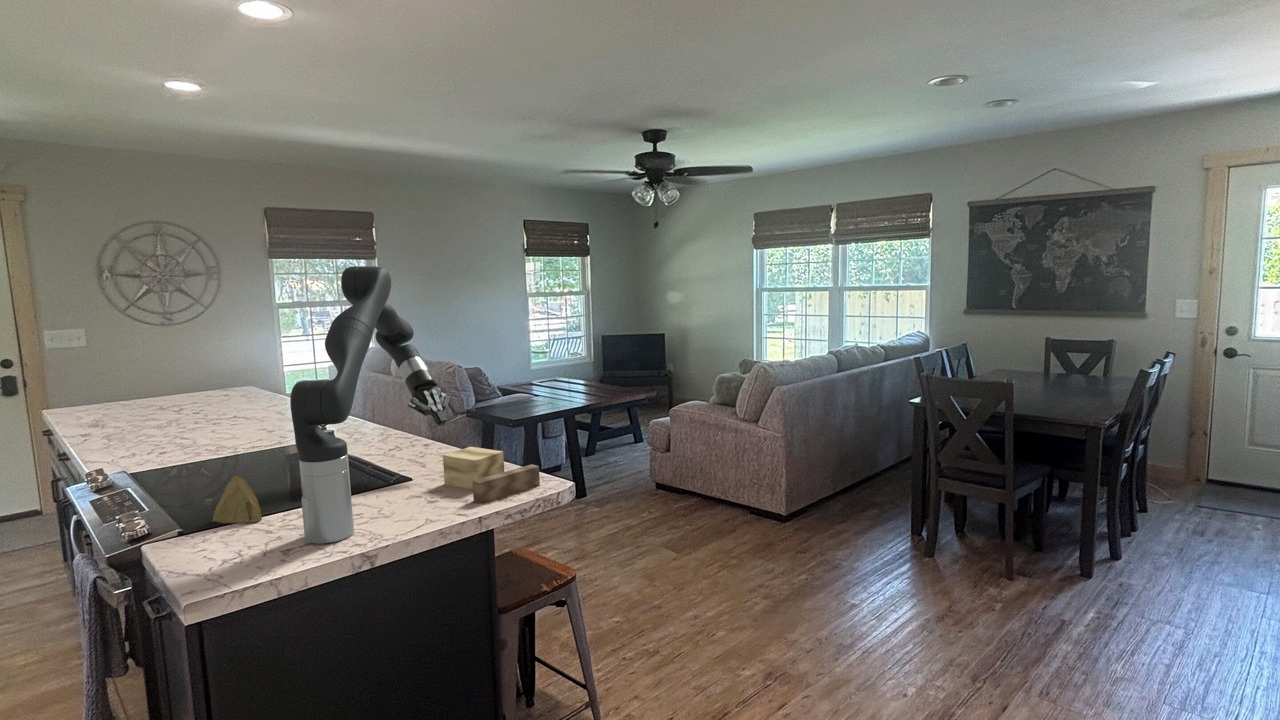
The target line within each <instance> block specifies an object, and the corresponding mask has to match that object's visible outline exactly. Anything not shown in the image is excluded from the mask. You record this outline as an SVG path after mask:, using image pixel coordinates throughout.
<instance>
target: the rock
mask: <svg viewBox="0 0 1280 720" xmlns="http://www.w3.org/2000/svg"><path fill="white" fill-rule="evenodd" d="M262 516H263V515H262V509H261V506H260V502H259V500H258V498H257V496H256V494H255V492H254V489H252V488H251V487H250V485H249V483H248V482H247V481H246V479H245V478H243V477H241V476H238V475H233V476H232V477H231V479H230V481H228V483H227V485H226V486H225V488H224V490H223V493H222V495H221V496H220V499H219V502H218V503H217V505H216V506H215V509H214V512H213V518H212V520H211V522H212V523H214V522H215V523H216V522H217V523H219V524H243V523H250V524H251V523H256V522H260V521H262V519H263V517H262Z"/></svg>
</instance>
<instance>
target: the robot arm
mask: <svg viewBox="0 0 1280 720" xmlns="http://www.w3.org/2000/svg"><path fill="white" fill-rule="evenodd" d="M340 286H341V291H342V294H343V296H344V298H345V299H346V300H347V301H348V302H349V303H350V304H351V306H349V307H348V308H346V309H344V310H343V311H342V312H340V313H339V314H338V315H337V316H336V317H335V318H334V319H333V321H332V323H331V325H330V326H329V329H328V331H327V334H326V337H325V339H324V348H325V351H326V353H327V356H328V358H329V360H330V361H331V362H332V364H333V366H334V368H336V371H337V373H336V376H335V377H334V378H333V379H323V380H322V379H321V380H320V379H319V380H318V379H317V380H302V381H299V382H296V383H295V384H294V386H293V387H292V389H291V392H290V400H289V401H290V405H289V406H290V413H291V419H292V426H293V431H294V442H295V446H296V449H297V450H296V451H297V454H298V460H299V462H298V463H299V472H300V473H299V474H300V484H301V485H300V486H301V495H302V496H301V499H300V501H301V510H302V521H303V522H302V523H303V534H304V543H305V545H309V544H317V545H318V544H329V543H335V542H339V541H342V540H345V539H347V538H349V537H351V536H352V535H354V532H355V527H354V515H353V512H354V511H353V503H352V490H351V479H350V477H351V476H350V466H349V465H350V464H349V454H348V452H349V451H348V444H347V442H346V440H344V439H343V438H340V437H337V436H333V435H331V434H329V433H327V432H325V431H324V430H322V428H320V426H326V425H339V424H343V423H344V422H346V420H347V419H348V417H349V416H350V413H351V411H352V407H353V404H354V403H353V402H354V399H355V394H356V390H357V385H358V380H359V377H360V373H361V370H362V367H363V364H364V361H365V358H366V356H367V353H368V351H369V348H370V344H371V342H372V339H373V336H374V332H375V330H376V332H375V341H376V343H377V344H378V346H379V347H381V348H382V350H384V351H385V352H386V353H387V354H388V355H389V356H390V357H391V358H392V360H393V361H394V362H395V364H396V367H397V368H398V371H399V373H400V375H401V378H402V380H403V381H404V383H405V385H406V387H407V389H408V391H409V394H411V397H412V398H410V400H409V402H408V404H407V406H408V407H409V408H411V409H413V411H416V412H417V413H419V414H421V415H423V416H425V417H426V416H430V417H432V419H433V421H434V423H435V424H436V425H438V427H442V426H445V425H446V423H447V419H448V418H447V416H446V415H445V411H446V410H447V408H448V406H449V402H450V398H451V396H452V395H451V393H450V392H447V393H445V392H442V390H441V388H439V387H438V385H437V381H436V379H435V378H434V376H433V374H432V373H431V371H430V369H429V367H428V365H427V363H425V362H426V361H424V359H423V358H422V357H421V354H420V353H419V351H418V349H417V348H416V346H414V345H413V344H410V343H408V342H410V341H412V339H413V338H414V333H415V332H414V329H413V327H412V325H411V324H410V322H408V320H406V319H405V318H403V317H401V316H400V315H398V313H397V311H396V309H395V308H394V307H393V306H392V305H391V304H390V302H389V303H388V302H387V301H388V300H389V297H390V294H391V289H392V277H391V274H390V272H389V270H388V269H386V268H384V267H383V266H369V265H367V266H366V265H364V266H363V265H361V266H359V265H358V266H357V265H355V266H348V267H346V268H345V269H343V271H342V274H341V279H340ZM406 343H407V344H406ZM441 402H442V403H441Z"/></svg>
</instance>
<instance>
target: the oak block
mask: <svg viewBox="0 0 1280 720" xmlns="http://www.w3.org/2000/svg"><path fill="white" fill-rule="evenodd" d="M504 455H505V454H504V451H503V450H496V449H491V448H490V449H489V448H482V447H476V446H467V447H466V448H462V449H459V450H455V451H452V452H449V453H446V454H445V453H444V454H442V465H443V466H442V467H443V478H444V479H443V480H444V485H446V484H447V486H451V485H452V487H456V486H457V487H458V488H461V487H462V489H466V488H467V490H471V489H472V491H473V482H472V481H473V480H477V479H481V478H484V477H488V476H491V475H495V474H499V473H502V472H505V461H504V460H505V458H504Z"/></svg>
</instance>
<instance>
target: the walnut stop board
mask: <svg viewBox="0 0 1280 720" xmlns="http://www.w3.org/2000/svg"><path fill="white" fill-rule="evenodd" d="M540 478H541V477H540V465H536V464H532V463H531V464H528V465H525V466H520V467H518V468H514V469H513V468H512V469H511V470H507V471H504V472H502V473H499V474H495V475H491V476H488V477H484V478H481V479H477V480H473V481H472V482H473V490H472V495H473V501H474V502H476V503H479V504H482V503H486V502H490V501H494V500H496V499H500V498H502V497H505V496H508V495H509V496H510V495H512V493H513V494H516V493H518V491H519V492H522V491H525V489H526V490H529V489H532V488H535V487H538V486H540V485H541V482H540V481H541V479H540ZM515 492H516V493H515Z"/></svg>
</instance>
